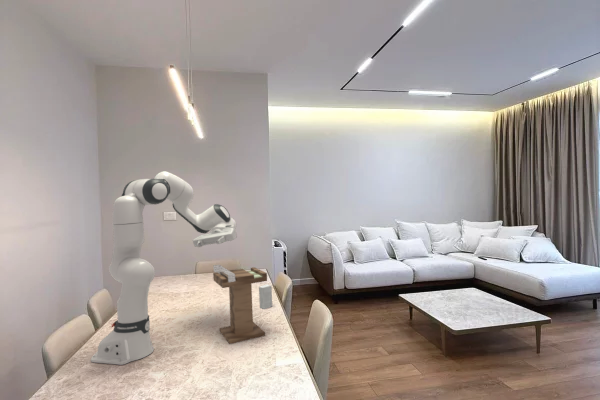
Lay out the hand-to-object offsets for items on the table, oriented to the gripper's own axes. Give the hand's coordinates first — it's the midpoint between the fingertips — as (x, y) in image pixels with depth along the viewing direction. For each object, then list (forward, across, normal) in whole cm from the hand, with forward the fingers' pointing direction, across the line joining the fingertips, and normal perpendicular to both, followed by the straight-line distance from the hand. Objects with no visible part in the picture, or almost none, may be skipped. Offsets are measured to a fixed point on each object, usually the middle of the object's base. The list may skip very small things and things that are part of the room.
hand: (208, 244), depth 152 cm
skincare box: (-28, +8, +50) cm, 58 cm away
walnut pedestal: (+7, +7, +42) cm, 43 cm away
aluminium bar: (+1, +4, +16) cm, 16 cm away
